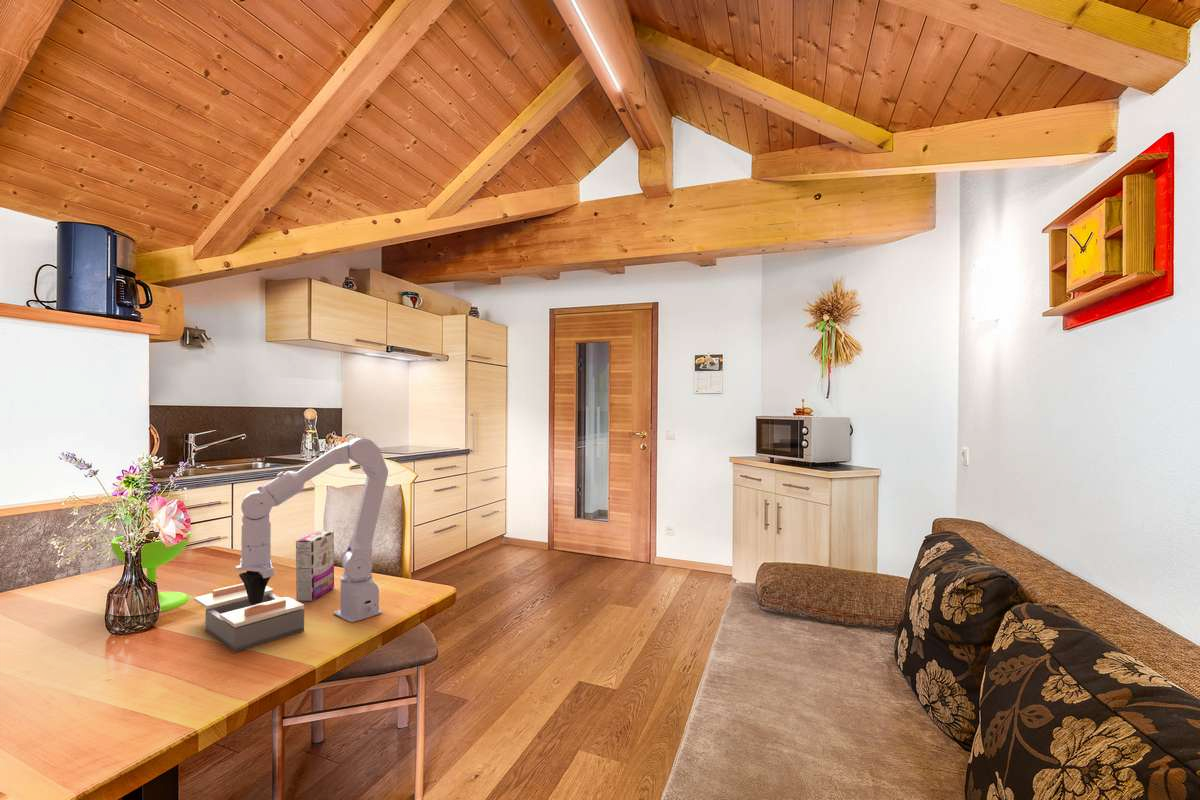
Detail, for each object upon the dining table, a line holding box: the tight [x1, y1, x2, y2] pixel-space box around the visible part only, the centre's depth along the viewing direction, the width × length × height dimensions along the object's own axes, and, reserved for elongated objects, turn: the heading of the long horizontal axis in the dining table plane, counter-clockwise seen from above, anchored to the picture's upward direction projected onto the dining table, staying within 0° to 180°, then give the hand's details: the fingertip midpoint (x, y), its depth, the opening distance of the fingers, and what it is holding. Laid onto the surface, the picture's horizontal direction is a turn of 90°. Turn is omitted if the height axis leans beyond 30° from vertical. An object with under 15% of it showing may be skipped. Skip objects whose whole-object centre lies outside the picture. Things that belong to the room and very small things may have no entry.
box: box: [204, 592, 305, 654], centre depth 125 cm, size 18×14×5 cm
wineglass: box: [110, 530, 191, 613], centre depth 141 cm, size 16×16×18 cm
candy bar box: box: [295, 530, 335, 602], centre depth 149 cm, size 11×5×16 cm, turn 179°
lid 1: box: [193, 582, 274, 610], centre depth 132 cm, size 9×14×2 cm, turn 142°
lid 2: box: [220, 596, 305, 627], centre depth 122 cm, size 9×14×2 cm, turn 142°
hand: (255, 602), depth 124 cm, fingers closed
